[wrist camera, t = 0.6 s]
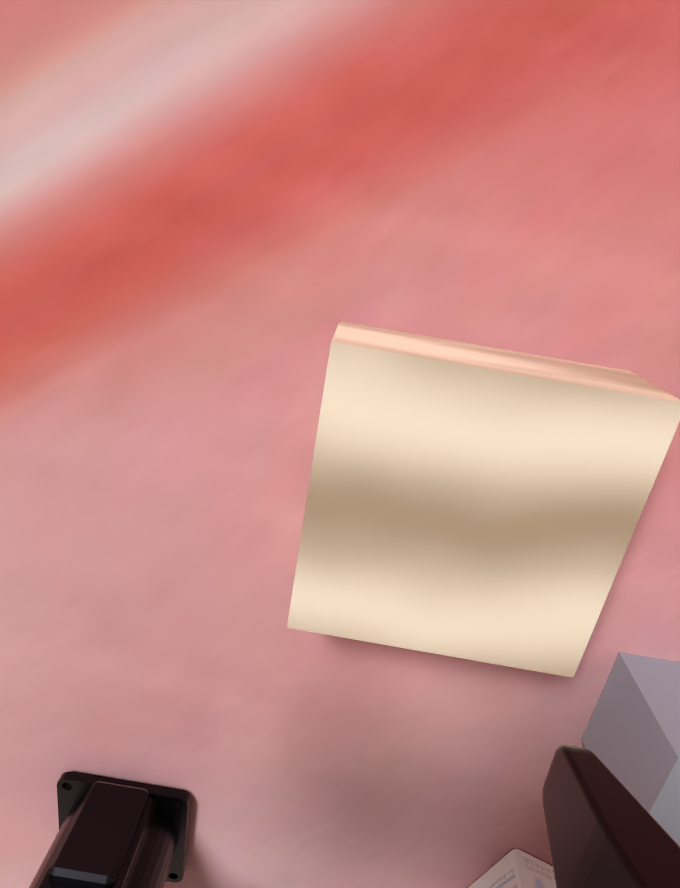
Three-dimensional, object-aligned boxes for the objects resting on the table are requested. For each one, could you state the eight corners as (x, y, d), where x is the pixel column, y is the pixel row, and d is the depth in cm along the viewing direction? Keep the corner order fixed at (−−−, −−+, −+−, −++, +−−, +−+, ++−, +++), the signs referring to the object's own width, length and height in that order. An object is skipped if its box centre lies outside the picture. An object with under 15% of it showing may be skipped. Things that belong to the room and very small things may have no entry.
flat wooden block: (541, 604, 23) (573, 677, 19) (302, 562, 23) (286, 627, 19) (627, 368, 19) (686, 403, 15) (340, 319, 19) (331, 342, 16)
